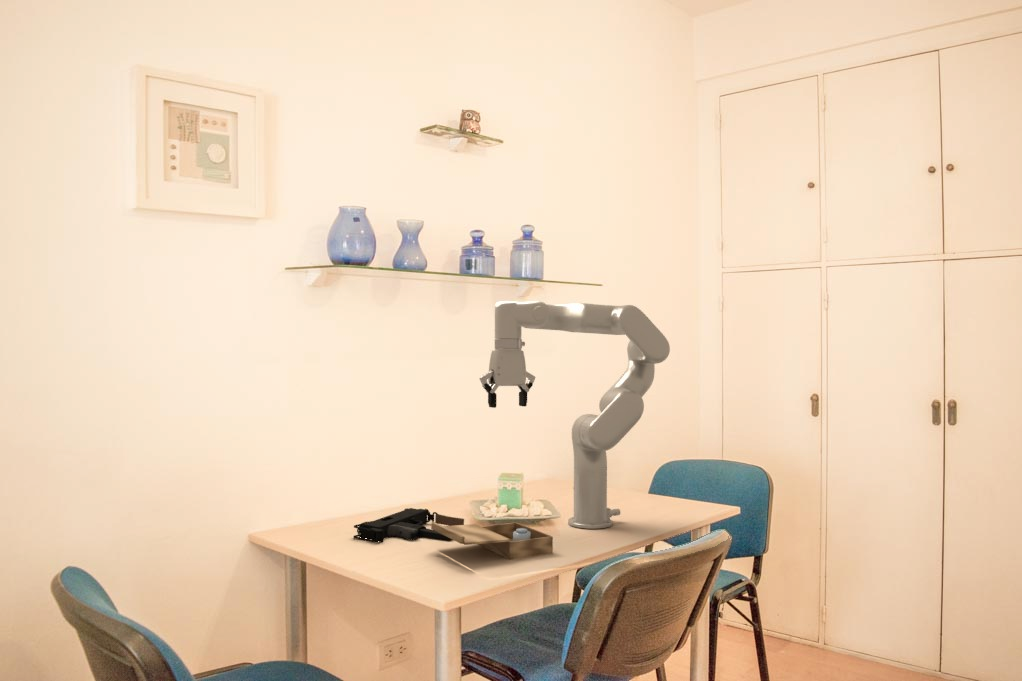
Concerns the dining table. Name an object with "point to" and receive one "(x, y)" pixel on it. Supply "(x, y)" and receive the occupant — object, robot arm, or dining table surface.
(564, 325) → the robot arm
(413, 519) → the submachine gun
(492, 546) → the box
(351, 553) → the dining table surface
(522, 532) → the blue jar
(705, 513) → the dining table surface
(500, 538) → the lid
